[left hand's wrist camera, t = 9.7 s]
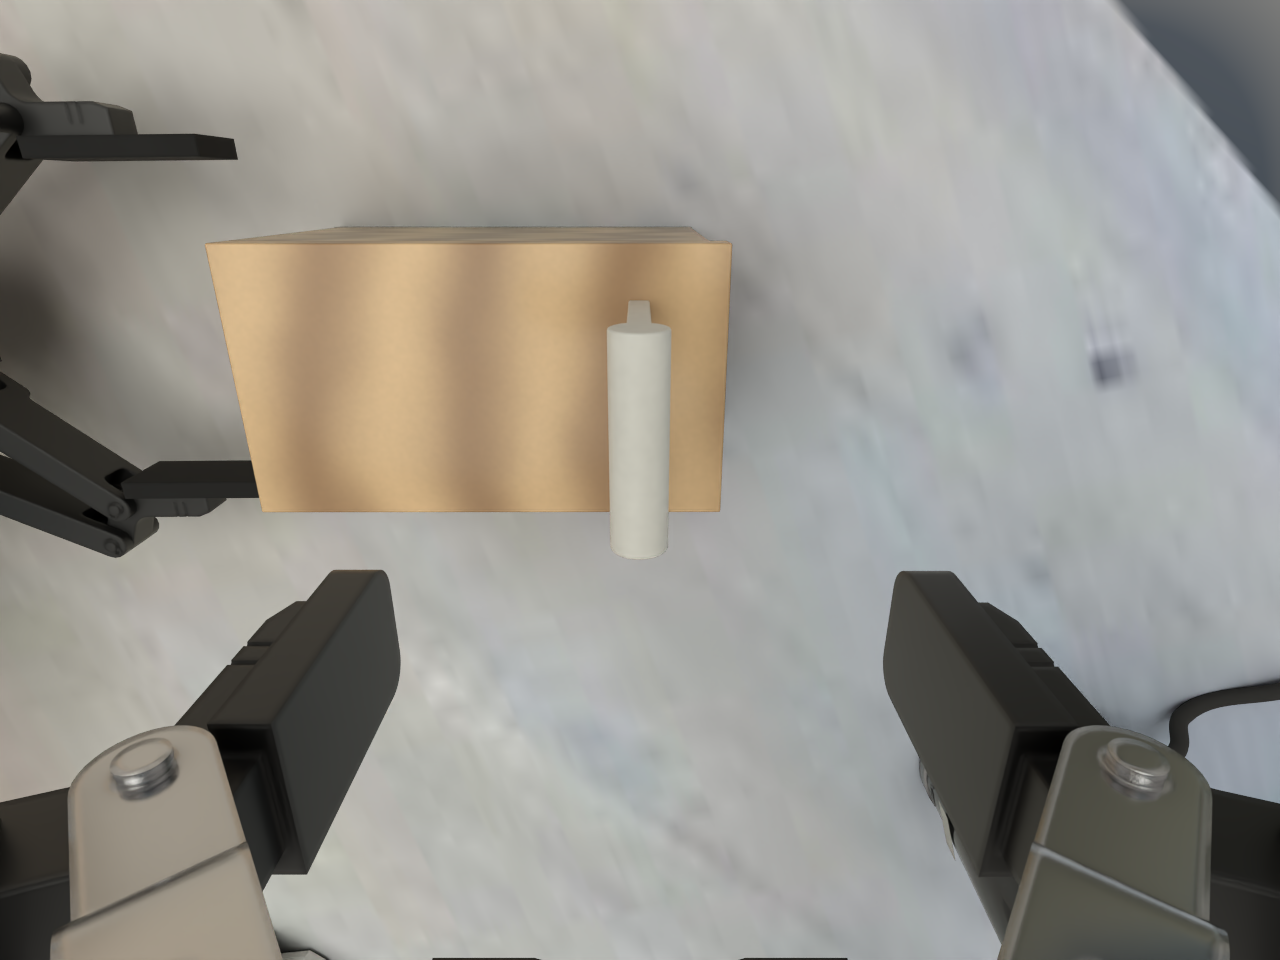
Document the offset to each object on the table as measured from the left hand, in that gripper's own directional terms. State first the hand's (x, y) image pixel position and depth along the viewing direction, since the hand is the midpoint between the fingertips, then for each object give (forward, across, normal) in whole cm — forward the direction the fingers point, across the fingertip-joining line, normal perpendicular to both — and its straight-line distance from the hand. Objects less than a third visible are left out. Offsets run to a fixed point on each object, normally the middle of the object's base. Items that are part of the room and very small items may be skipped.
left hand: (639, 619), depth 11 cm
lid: (+16, +6, 0) cm, 17 cm away
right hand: (+20, +16, -1) cm, 26 cm away
